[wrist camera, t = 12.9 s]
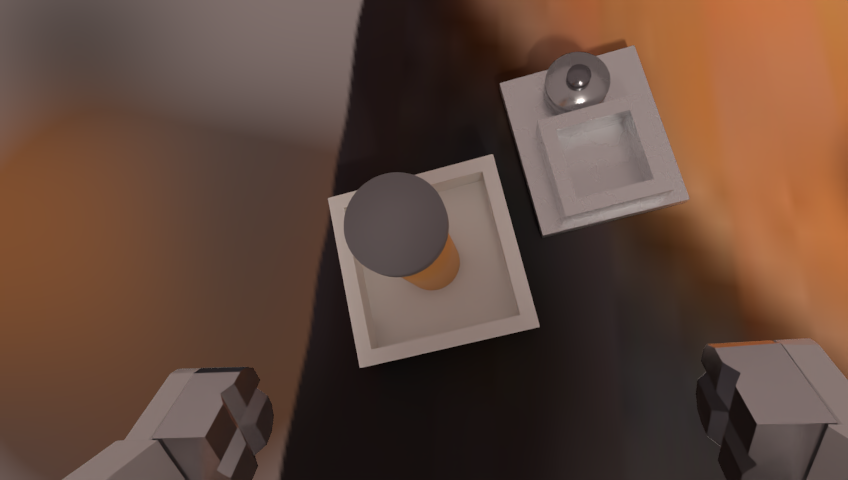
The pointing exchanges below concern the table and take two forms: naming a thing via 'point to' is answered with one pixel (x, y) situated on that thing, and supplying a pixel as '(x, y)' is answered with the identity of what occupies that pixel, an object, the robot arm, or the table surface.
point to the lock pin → (402, 231)
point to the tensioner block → (591, 141)
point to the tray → (457, 302)
